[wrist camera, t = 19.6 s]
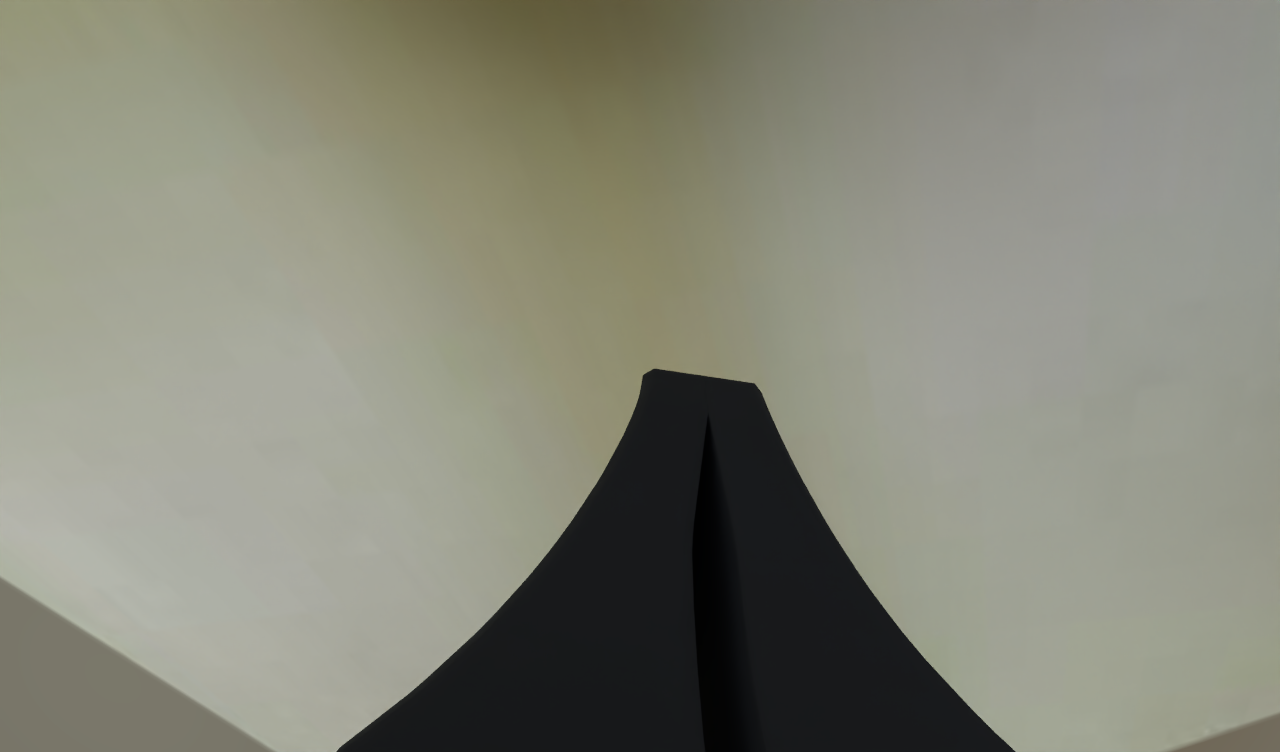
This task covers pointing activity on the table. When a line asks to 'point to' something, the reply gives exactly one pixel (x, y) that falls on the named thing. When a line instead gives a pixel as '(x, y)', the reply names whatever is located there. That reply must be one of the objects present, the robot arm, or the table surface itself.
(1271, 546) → the table surface
